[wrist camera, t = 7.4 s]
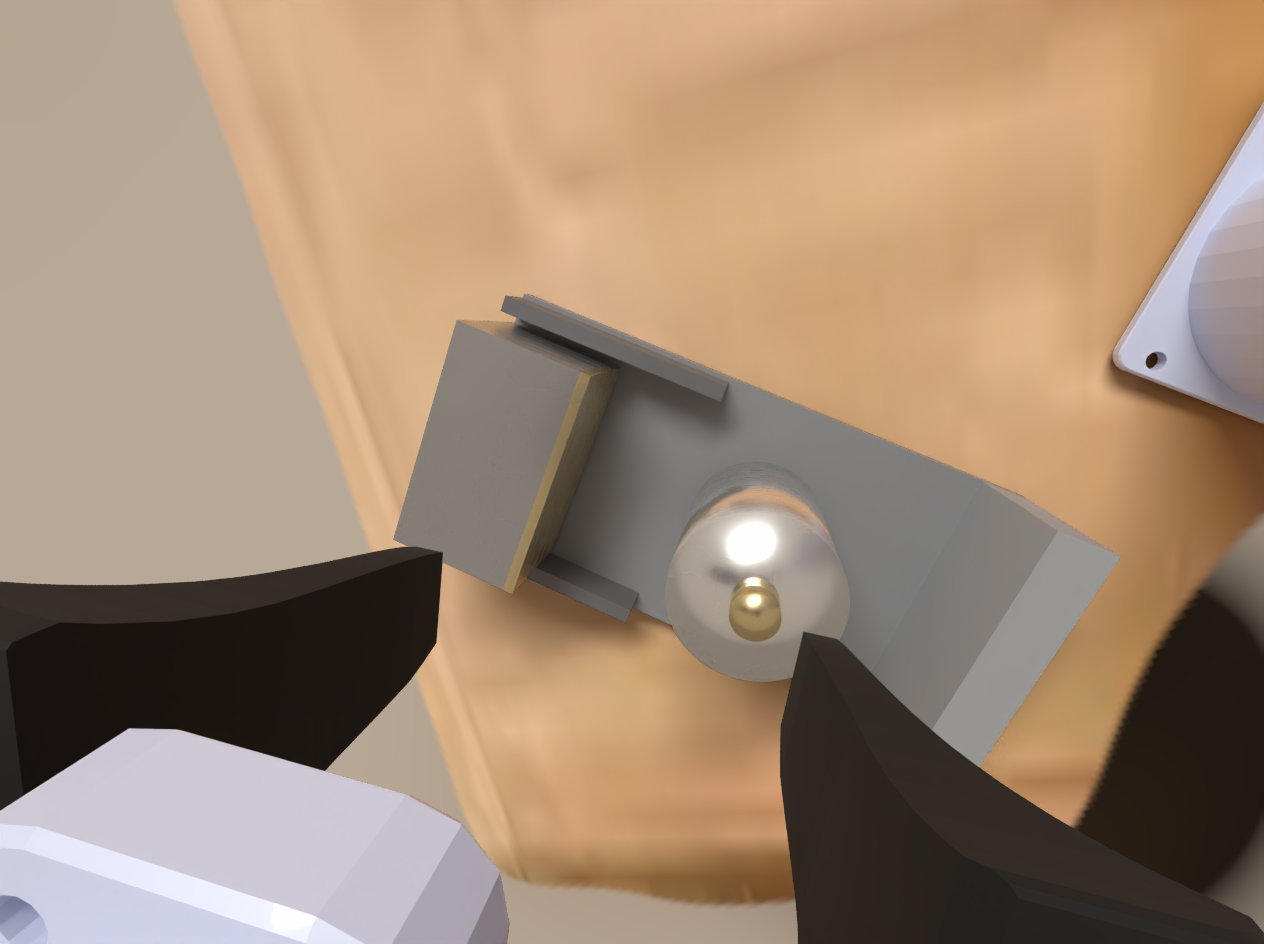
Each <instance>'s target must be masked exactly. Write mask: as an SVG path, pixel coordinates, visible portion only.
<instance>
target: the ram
mask: <svg viewBox="0 0 1264 944" xmlns="http://www.w3.org/2000/svg"><path fill="white" fill-rule="evenodd" d="M620 370H621V367H619V366H617V365H614V364H612V363H609V362H607V361H605V360H602V359H600V358H597V357H595V356H592V355H590V354H588V353H585V352H583V351H580V350H578V349H576V348H573V347H571V346H568V345H566V344H563V343H561V342H559V341H556V340H554V339H551V338H549V337H547V336H544V335H542V334H539V333H537V332H535V331H532V330H530V329H527V328H525V327H522V326H520V325H518V324H515V323H513V322H496V321H468V320H457V321H456V325H455V328H454V332H453V335H452V338H451V342H450V345H449V349H448V352H447V356H446V359H445V363H444V366H443V370H442V373H441V376H440V380H439V383H438V387H437V390H436V394H435V397H434V401H433V404H432V408H431V411H430V415H429V418H428V421H427V425H426V428H425V432H424V435H423V439H422V442H421V446H420V449H419V453H418V456H417V459H416V463H415V466H414V470H413V473H412V477H411V480H410V484H409V487H408V491H407V494H406V498H405V501H404V504H403V508H402V511H401V515H400V518H399V522H398V525H397V529H396V532H395V536H394V539H393V540H395V541H397V542H400V543H402V544H404V545H406V546H408V547H413V546H416V547H421V548H425V549H430V550H434V551H439V552H443V560H442V562H443V563H445V564H447V565H450V566H452V567H454V568H456V569H458V570H461V571H463V572H465V573H467V574H469V575H471V576H474V577H476V578H478V579H480V580H482V581H484V582H487V583H489V584H491V585H493V586H495V587H498V588H500V589H502V590H504V591H506V592H508V593H511V594H512V593H513V592H514V591H515V590H516V589H517V588H518V587H519V586H520V585H521V584H522V583H523V581H524V580H525V579H526V578H527V577H528V576H529V575H530V574H531V573H532V572H533V571H534V569H535V568H536V567H537V566H538V565H539V564H540V563H541V562H542V561H543V560H544V559H545V558H546V556H547V555H548V554H549V553H550V552H551V551H552V550H553V549H554V546H555V543H556V541H557V538H558V535H559V533H560V530H561V527H562V525H563V522H564V519H565V517H566V514H567V511H568V509H569V506H570V503H571V501H572V498H573V495H574V493H575V490H576V487H577V485H578V482H579V479H580V477H581V474H582V471H583V469H584V466H585V463H586V461H587V458H588V455H589V453H590V450H591V447H592V445H593V442H594V439H595V437H596V434H597V431H598V429H599V426H600V423H601V421H602V418H603V415H604V413H605V410H606V407H607V405H608V402H609V399H610V397H611V394H612V391H613V389H614V386H615V383H616V381H617V378H618V375H619V373H620Z"/></svg>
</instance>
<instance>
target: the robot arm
mask: <svg viewBox="0 0 1264 944" xmlns="http://www.w3.org/2000/svg"><path fill="white" fill-rule="evenodd" d="M1153 352H1154V353H1156V354H1157V357H1158V361H1157V364H1156V365H1155V366H1154V367H1153V368H1150V369H1149V368H1148V367H1147V366H1146V363H1145V362H1146V358H1147V357H1148V356H1149V355H1150V354H1151V353H1153ZM1113 362H1114V363H1115V365H1116V366H1117V367H1118V368H1120V369H1121V370H1123V371H1126V372H1129V373H1131V374H1134V375H1136V376H1139V377H1142V378H1144V379H1147V380H1149V381H1152V382H1155V383H1157V384H1160V385H1162V386H1165V387H1168V388H1170V389H1173V390H1175V391H1178V392H1181V393H1183V394H1186V395H1189V396H1191V397H1194V398H1196V399H1199V400H1202V401H1204V402H1207V403H1209V404H1212V405H1215V406H1217V407H1220V408H1222V409H1225V410H1228V411H1230V412H1233V413H1235V414H1238V415H1241V416H1243V417H1246V418H1248V419H1251V420H1254V421H1256V422H1259V423H1262V424H1264V102H1263V104H1262V105H1261V107H1260V109H1259V110H1258V112H1257V114H1256V115H1255V117H1254V119H1253V120H1252V122H1251V124H1250V125H1249V127H1248V129H1247V130H1246V132H1245V134H1244V135H1243V137H1242V139H1241V140H1240V142H1239V143H1238V145H1237V147H1236V148H1235V150H1234V152H1233V153H1232V155H1231V157H1230V158H1229V160H1228V162H1227V163H1226V165H1225V167H1224V168H1223V170H1222V172H1221V173H1220V175H1219V177H1218V178H1217V180H1216V181H1215V183H1214V185H1213V186H1212V188H1211V190H1210V191H1209V193H1208V195H1207V196H1206V198H1205V200H1204V201H1203V203H1202V205H1201V206H1200V208H1199V210H1198V211H1197V213H1196V215H1195V216H1194V218H1193V219H1192V221H1191V223H1190V224H1189V226H1188V228H1187V229H1186V231H1185V233H1184V234H1183V236H1182V238H1181V239H1180V241H1179V243H1178V244H1177V246H1176V248H1175V249H1174V251H1173V253H1172V254H1171V256H1170V257H1169V259H1168V261H1167V262H1166V264H1165V266H1164V267H1163V269H1162V271H1161V272H1160V274H1159V276H1158V277H1157V279H1156V281H1155V282H1154V284H1153V286H1152V287H1151V289H1150V290H1149V292H1148V294H1147V295H1146V297H1145V299H1144V300H1143V302H1142V304H1141V305H1140V307H1139V309H1138V310H1137V312H1136V314H1135V315H1134V317H1133V319H1132V320H1131V322H1130V324H1129V325H1128V327H1127V328H1126V330H1125V332H1124V333H1123V335H1122V337H1121V338H1120V340H1119V342H1118V343H1117V345H1116V347H1115V349H1114V351H1113ZM442 560H443V552H439V551H434V550H430V549H425V548H421V547H416V546H413V547H400V548H393V549H387V550H382V551H377V552H372V553H367V554H362V555H357V556H352V557H348V558H343V559H338V560H333V561H329V562H324V563H320V564H314V565H309V566H303V567H297V568H292V569H286V570H281V571H275V572H270V573H264V574H257V575H250V576H243V577H235V578H226V579H216V580H208V581H197V582H180V583H160V584H141V585H140V584H139V585H51V584H27V583H13V582H12V583H11V582H0V944H507V940H508V932H509V919H508V914H507V908H506V904H505V897H504V892H503V886H502V881H501V876H500V872H499V870H498V869H497V867H496V866H495V865H494V863H493V862H492V861H491V859H490V858H489V857H488V856H487V854H486V853H485V852H484V851H483V849H482V848H481V847H480V845H479V844H478V843H477V842H476V840H475V839H474V838H473V837H472V835H471V834H470V833H469V832H468V830H467V829H466V828H465V826H464V825H463V824H462V823H461V822H460V821H458V820H456V819H455V818H453V817H451V816H449V815H447V814H445V813H443V812H441V811H439V810H438V809H436V808H434V807H432V806H430V805H428V804H426V803H424V802H423V801H421V800H419V799H417V798H415V797H413V796H411V795H407V794H404V793H400V792H397V791H393V790H390V789H386V788H383V787H379V786H375V785H372V784H368V783H365V782H361V781H358V780H354V779H350V778H347V777H344V776H340V775H336V774H333V773H330V772H326V771H325V770H326V769H327V768H328V767H329V766H330V765H331V764H332V762H334V760H335V759H336V758H337V757H338V756H339V755H340V754H341V753H342V752H343V751H344V750H345V749H346V748H347V747H348V746H349V745H350V744H351V743H352V741H354V740H355V738H357V736H358V735H359V734H360V733H361V732H362V731H363V730H364V729H365V728H366V727H367V726H368V725H369V724H370V723H371V722H372V721H373V720H374V719H375V718H376V717H377V716H378V714H379V713H380V712H381V711H382V710H383V709H384V708H385V707H386V706H387V705H388V704H389V703H390V702H391V701H392V700H393V698H395V696H396V695H397V694H398V693H399V692H400V691H401V690H402V689H403V688H404V687H405V686H406V684H407V683H408V682H409V681H410V680H411V678H412V677H413V676H414V674H415V673H416V672H417V670H418V669H419V668H420V666H421V665H422V663H423V662H424V660H425V659H426V657H427V656H428V654H429V653H430V652H431V650H432V649H433V647H434V646H435V644H436V640H437V627H438V614H439V600H440V587H441V574H442ZM780 778H781V787H782V795H783V803H784V812H785V820H786V828H787V835H788V843H789V851H790V859H791V867H792V874H793V882H794V890H795V899H796V911H797V923H798V944H1264V932H1263V931H1262V930H1261V929H1260V928H1259V926H1258V925H1257V924H1256V923H1255V922H1254V921H1253V919H1252V918H1250V917H1249V916H1247V915H1244V914H1242V913H1240V912H1238V911H1236V910H1234V909H1232V908H1230V907H1227V906H1226V905H1223V904H1221V903H1219V902H1217V901H1215V900H1213V899H1211V898H1208V897H1206V896H1204V895H1202V894H1200V893H1198V892H1196V891H1194V890H1192V889H1190V888H1187V887H1185V886H1183V885H1181V884H1179V883H1177V882H1175V881H1173V880H1171V879H1168V878H1166V877H1164V876H1162V875H1160V874H1158V873H1156V872H1153V871H1151V870H1149V869H1147V868H1145V867H1143V866H1141V865H1139V864H1137V863H1136V862H1134V861H1132V860H1130V859H1128V858H1126V857H1124V856H1123V855H1121V854H1119V853H1117V852H1115V851H1113V850H1111V849H1110V848H1108V847H1106V846H1104V845H1102V844H1100V843H1099V842H1097V841H1095V840H1093V839H1091V838H1089V837H1087V836H1086V835H1084V834H1082V833H1080V832H1079V831H1077V830H1075V829H1074V828H1072V827H1070V826H1069V825H1067V824H1065V823H1063V822H1062V821H1060V820H1058V819H1057V818H1055V817H1053V816H1052V815H1050V814H1048V813H1047V812H1045V811H1044V810H1042V809H1040V808H1039V807H1037V806H1036V805H1034V804H1033V803H1031V802H1029V801H1028V800H1026V799H1025V798H1023V797H1022V796H1020V795H1019V794H1017V793H1015V792H1014V791H1012V790H1011V789H1009V788H1008V787H1006V786H1005V785H1003V784H1002V783H1000V782H999V781H998V780H996V779H995V778H993V777H992V776H990V775H989V774H987V773H986V772H985V771H983V770H982V769H981V768H979V767H978V766H977V765H975V764H974V763H973V762H971V761H970V760H969V759H967V758H966V757H965V756H963V755H962V754H961V753H959V752H958V751H957V750H956V749H954V748H953V747H952V746H950V745H949V744H948V743H947V742H946V741H944V740H943V739H942V738H941V737H939V736H938V735H937V734H936V733H935V732H934V731H932V730H931V729H930V728H929V727H928V726H927V725H926V724H925V723H923V722H922V721H921V720H920V719H919V718H918V717H917V716H915V715H914V714H913V713H912V712H911V711H910V710H909V709H908V708H907V707H906V706H905V705H904V704H903V703H901V702H900V701H899V700H898V699H897V698H896V697H895V696H894V695H893V694H892V693H891V692H890V691H889V690H888V689H887V688H886V687H885V686H884V685H883V684H882V683H881V682H880V681H879V680H878V679H877V678H876V677H875V676H874V675H873V674H872V673H871V672H870V671H869V670H868V669H867V668H866V667H865V665H864V664H863V663H862V662H861V661H860V660H859V659H858V658H857V657H856V656H855V655H854V654H853V653H852V652H851V651H850V650H849V649H848V648H847V647H846V646H845V645H844V644H843V643H842V642H840V641H839V640H838V639H835V638H831V637H826V636H821V635H817V634H812V633H808V632H803V635H802V640H801V644H800V648H799V652H798V656H797V660H796V665H795V669H794V673H793V677H792V681H791V685H790V690H789V694H788V698H787V702H786V706H785V711H784V715H783V719H782V723H781V736H780Z"/></svg>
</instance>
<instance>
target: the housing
mask: <svg viewBox="0 0 1264 944" xmlns="http://www.w3.org/2000/svg"><path fill="white" fill-rule="evenodd" d="M665 601H666V609H667V613H668V617H669V620H670V622H671V625H672V627H673V630H674V631H675V633H676V635H677V637H678V638H679V640H680V641H681V642H682V644H683V645H684V646H685V648H686V649H687V650H688V651H689V652H690V653H691V654H692V655H693V656H694V657H695V658H697V659H698V660H699V661H700V662H702V663H703V664H705V665H706V666H708V667H709V668H711V669H713V670H715V671H717V672H719V673H721V674H723V675H726V676H729V677H732V678H735V679H740V680H744V681H753V682H770V681H778V680H783V679H787V678H791V677H793V673H794V669H795V665H796V660H797V656H798V652H799V648H800V644H801V640H802V635H803V632H808V633H812V634H817V635H821V636H826V637H831V638H835V639H838V640H840V638H841V636H842V634H843V632H844V630H845V627H846V625H847V621H848V616H849V610H850V591H849V586H848V581H847V578H846V575H845V572H844V569H843V567H842V564H841V561H840V559H839V556H838V553H837V551H836V548H835V545H834V543H833V540H832V537H831V535H830V532H829V529H828V527H827V524H826V521H825V519H824V516H823V513H822V511H821V508H820V505H819V503H818V500H817V498H816V497H815V495H814V493H813V492H812V490H811V489H810V487H809V486H808V485H807V484H806V483H805V482H804V481H803V480H802V479H801V478H799V477H798V476H797V475H796V474H794V473H792V472H791V471H789V470H787V469H785V468H783V467H781V466H778V465H774V464H771V463H765V462H744V463H740V464H735V465H732V466H730V467H727V468H725V469H723V470H721V471H719V472H718V473H716V474H715V475H713V476H712V477H711V478H710V479H709V480H707V481H706V482H705V484H704V485H703V486H702V487H701V488H700V490H699V491H698V493H697V495H696V497H695V499H694V501H693V503H692V506H691V509H690V512H689V514H688V517H687V520H686V523H685V526H684V529H683V531H682V534H681V537H680V540H679V543H678V545H677V548H676V551H675V554H674V557H673V560H672V562H671V565H670V568H669V572H668V575H667V579H666V586H665Z"/></svg>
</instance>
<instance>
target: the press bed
mask: <svg viewBox="0 0 1264 944" xmlns="http://www.w3.org/2000/svg"><path fill="white" fill-rule="evenodd" d="M501 311H502V312H505V313H507V314H509V315H512V316H514V317H517V318H516V321H515V324H518V325H520V326H522V327H525V328H527V329H530V330H532V331H535V332H537V333H539V334H542V335H544V336H547V337H549V338H551V339H554V340H556V341H559V342H561V343H563V344H566V345H568V346H571V347H573V348H576V349H578V350H580V351H583V352H585V353H588V354H590V355H592V356H595V357H597V358H600V359H602V360H605V361H607V362H609V363H612V364H614V365H617V366H619V367H621V370H620V373H619V375H618V378H617V381H616V383H615V386H614V389H613V391H612V394H611V397H610V399H609V402H608V405H607V407H606V410H605V413H604V415H603V418H602V421H601V423H600V426H599V429H598V431H597V434H596V437H595V439H594V442H593V445H592V447H591V450H590V453H589V455H588V458H587V461H586V463H585V466H584V469H583V471H582V474H581V477H580V479H579V482H578V485H577V487H576V490H575V493H574V495H573V498H572V501H571V503H570V506H569V509H568V511H567V514H566V517H565V519H564V522H563V525H562V527H561V530H560V533H559V535H558V538H557V541H556V543H555V546H554V549H553V550H552V551H551V552H550V553H549V554H548V555H547V556H546V558H545V559H544V560H543V561H542V562H541V563H540V564H539V565H538V566H537V567H536V568H535V569H534V571H533V572H532V573H531V574H530V575H529V576H528V577H527V578H528V579H530V580H533V581H535V582H537V583H539V584H541V585H544V586H546V587H548V588H550V589H552V590H555V591H557V592H559V593H561V594H563V595H566V596H568V597H570V598H572V599H574V600H577V601H579V602H581V603H583V604H585V605H588V606H590V607H592V608H594V609H596V610H599V611H601V612H603V613H605V614H607V615H610V616H612V617H614V618H616V619H618V620H620V621H623V622H625V623H626V620H627V618H628V616H629V614H630V611H631V609H632V608H634V609H637V610H639V611H641V612H643V613H645V614H648V615H650V616H652V617H654V618H656V619H659V620H661V621H663V622H665V623H668V624H670V625H671V622H670V620H669V617H668V613H667V609H666V601H665V586H666V579H667V575H668V572H669V568H670V565H671V562H672V560H673V557H674V554H675V551H676V548H677V545H678V543H679V540H680V537H681V534H682V531H683V529H684V526H685V523H686V520H687V517H688V514H689V512H690V509H691V506H692V503H693V501H694V499H695V497H696V495H697V493H698V491H699V490H700V488H701V487H702V486H703V485H704V484H705V482H706V481H707V480H709V479H710V478H711V477H712V476H713V475H715V474H716V473H718V472H719V471H721V470H723V469H725V468H727V467H730V466H732V465H735V464H740V463H744V462H765V463H771V464H774V465H778V466H781V467H783V468H785V469H787V470H789V471H791V472H792V473H794V474H796V475H797V476H798V477H799V478H801V479H802V480H803V481H804V482H805V483H806V484H807V485H808V486H809V487H810V489H811V490H812V492H813V493H814V495H815V497H816V498H817V500H818V503H819V505H820V508H821V511H822V513H823V516H824V519H825V521H826V524H827V527H828V529H829V532H830V535H831V537H832V540H833V543H834V545H835V548H836V551H837V553H838V556H839V559H840V561H841V564H842V567H843V569H844V572H845V575H846V578H847V581H848V586H849V591H850V610H849V616H848V621H847V625H846V627H845V630H844V632H843V634H842V636H841V638H840V640H839V641H840V642H842V643H843V644H844V645H845V646H846V647H847V648H848V649H849V650H850V651H851V652H852V653H853V654H854V655H855V656H856V657H857V658H858V659H859V660H860V661H861V662H862V663H863V664H864V665H865V667H866V668H867V669H868V670H869V671H870V672H871V673H872V674H873V675H874V676H875V677H876V678H877V679H878V680H879V681H880V682H881V683H882V684H883V685H884V686H885V687H886V688H887V689H888V690H889V691H890V692H891V693H892V694H893V695H894V696H895V697H896V698H897V699H898V700H899V701H900V702H901V703H903V704H904V705H905V706H906V707H907V708H908V709H909V710H910V711H911V712H912V713H913V714H914V715H915V716H917V717H918V718H919V719H920V720H921V721H922V722H923V723H925V724H926V725H927V726H928V727H929V728H930V729H931V730H932V731H934V732H935V733H936V734H937V735H938V736H939V737H941V738H942V739H943V740H944V741H946V742H947V743H948V744H949V745H950V746H952V747H953V748H954V749H956V750H957V751H958V752H959V753H961V754H962V755H963V756H965V757H966V758H967V759H969V760H970V761H971V762H973V763H974V764H975V765H977V766H978V767H979V766H980V765H981V763H982V762H983V760H984V759H985V757H986V756H987V754H988V753H989V751H990V750H991V748H992V747H993V745H994V744H995V743H996V741H997V740H998V738H999V737H1000V735H1001V734H1002V732H1003V731H1004V729H1005V728H1006V726H1007V725H1008V723H1009V722H1010V720H1011V719H1012V717H1013V716H1014V714H1015V713H1016V711H1017V710H1018V708H1019V707H1020V705H1021V704H1022V703H1023V701H1024V700H1025V698H1026V697H1027V695H1028V694H1029V692H1030V691H1031V689H1032V688H1033V686H1034V685H1035V683H1036V682H1037V680H1038V679H1039V677H1040V676H1041V674H1042V673H1043V671H1044V670H1045V668H1046V667H1047V666H1048V664H1049V663H1050V661H1051V660H1052V658H1053V657H1054V655H1055V654H1056V652H1057V651H1058V649H1059V648H1060V646H1061V645H1062V643H1063V642H1064V640H1065V639H1066V637H1067V636H1068V634H1069V633H1070V631H1071V630H1072V628H1073V627H1074V626H1075V624H1076V623H1077V621H1078V620H1079V618H1080V617H1081V615H1082V614H1083V612H1084V611H1085V609H1086V608H1087V606H1088V605H1089V603H1090V602H1091V600H1092V599H1093V597H1094V596H1095V594H1096V593H1097V591H1098V590H1099V588H1100V587H1101V586H1102V584H1103V583H1104V581H1105V580H1106V578H1107V577H1108V575H1109V574H1110V572H1111V571H1112V569H1113V568H1114V566H1115V565H1116V563H1117V562H1118V560H1119V559H1120V557H1121V556H1119V555H1117V554H1116V553H1114V552H1112V551H1111V550H1109V549H1108V548H1106V547H1104V546H1103V545H1101V544H1099V543H1098V542H1096V541H1095V540H1093V539H1091V538H1090V537H1088V536H1086V535H1085V534H1083V533H1082V532H1080V531H1078V530H1077V529H1075V528H1073V527H1072V526H1070V525H1069V524H1067V523H1065V522H1064V521H1062V520H1060V519H1059V518H1057V517H1056V516H1054V515H1052V514H1051V513H1049V512H1047V511H1046V510H1044V509H1043V508H1041V507H1039V506H1038V505H1036V504H1035V503H1033V502H1031V501H1030V500H1028V499H1026V498H1025V497H1023V496H1022V495H1019V494H1017V493H1014V492H1012V491H1010V490H1007V489H1005V488H1002V487H1000V486H997V485H995V484H992V483H990V482H987V481H985V480H983V479H980V478H978V477H975V476H973V475H970V474H968V473H965V472H963V471H961V470H958V469H956V468H953V467H951V466H948V465H946V464H943V463H941V462H939V461H936V460H934V459H931V458H929V457H926V456H924V455H921V454H919V453H916V452H914V451H912V450H909V449H907V448H904V447H902V446H899V445H897V444H894V443H892V442H890V441H887V440H885V439H882V438H880V437H877V436H875V435H872V434H870V433H868V432H865V431H863V430H860V429H858V428H855V427H853V426H850V425H848V424H846V423H843V422H841V421H838V420H836V419H833V418H831V417H828V416H826V415H823V414H821V413H819V412H816V411H814V410H811V409H809V408H806V407H804V406H801V405H799V404H797V403H794V402H792V401H789V400H787V399H784V398H782V397H779V396H777V395H775V394H772V393H770V392H767V391H765V390H762V389H760V388H757V387H755V386H752V385H750V384H748V383H745V382H743V381H740V380H738V379H735V378H733V377H730V376H728V375H726V374H723V373H721V372H718V371H716V370H713V369H711V368H708V367H706V366H704V365H701V364H699V363H696V362H694V361H691V360H689V359H686V358H684V357H681V356H679V355H677V354H674V353H672V352H669V351H667V350H664V349H662V348H659V347H657V346H655V345H652V344H650V343H647V342H645V341H642V340H640V339H637V338H635V337H633V336H630V335H628V334H625V333H623V332H620V331H618V330H615V329H613V328H610V327H608V326H606V325H603V324H601V323H598V322H596V321H593V320H591V319H588V318H586V317H584V316H581V315H579V314H576V313H574V312H571V311H569V310H566V309H564V308H562V307H559V306H557V305H554V304H552V303H549V302H547V301H544V300H542V299H540V298H537V297H535V296H532V295H529V294H524V296H523V298H519V297H512V296H505V299H504V302H503V305H502V309H501ZM789 679H791V680H792V677H791V678H789Z"/></svg>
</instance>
